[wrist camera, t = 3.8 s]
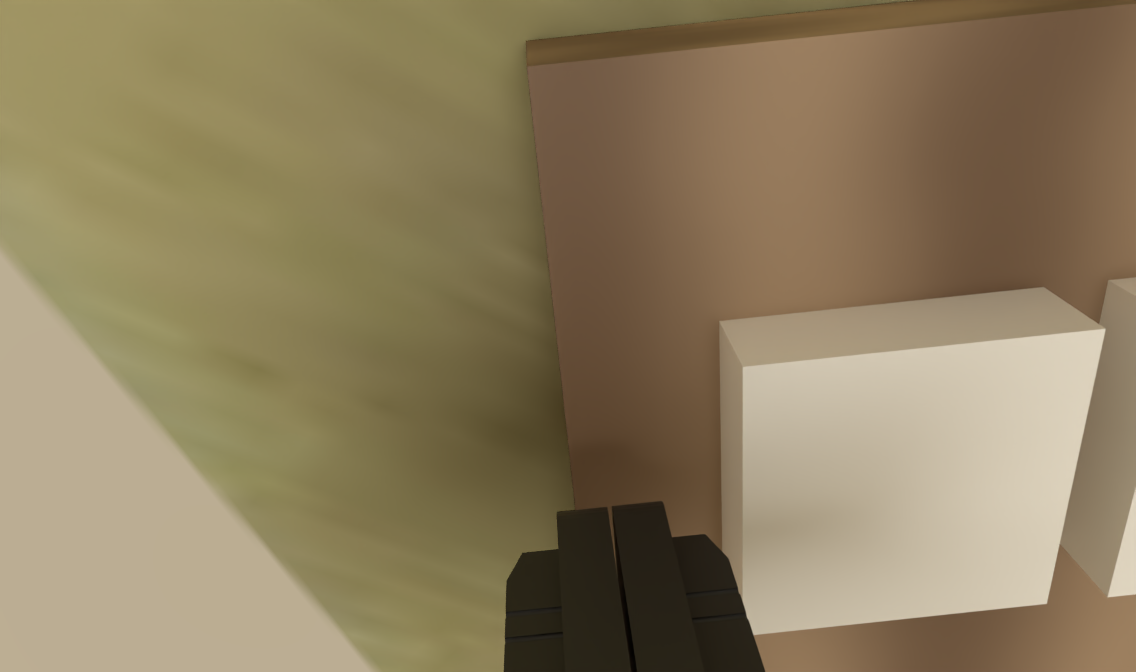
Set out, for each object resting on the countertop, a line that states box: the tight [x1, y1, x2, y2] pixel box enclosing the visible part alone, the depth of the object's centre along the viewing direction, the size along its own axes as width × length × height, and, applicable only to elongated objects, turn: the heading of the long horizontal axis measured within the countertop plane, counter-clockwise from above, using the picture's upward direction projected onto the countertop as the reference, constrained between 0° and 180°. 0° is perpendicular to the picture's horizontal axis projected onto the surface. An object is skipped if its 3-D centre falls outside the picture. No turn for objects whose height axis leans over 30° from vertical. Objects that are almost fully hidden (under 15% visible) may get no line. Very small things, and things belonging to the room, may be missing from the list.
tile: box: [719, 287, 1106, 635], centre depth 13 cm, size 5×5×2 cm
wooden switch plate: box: [526, 0, 1136, 672], centre depth 15 cm, size 14×13×3 cm
